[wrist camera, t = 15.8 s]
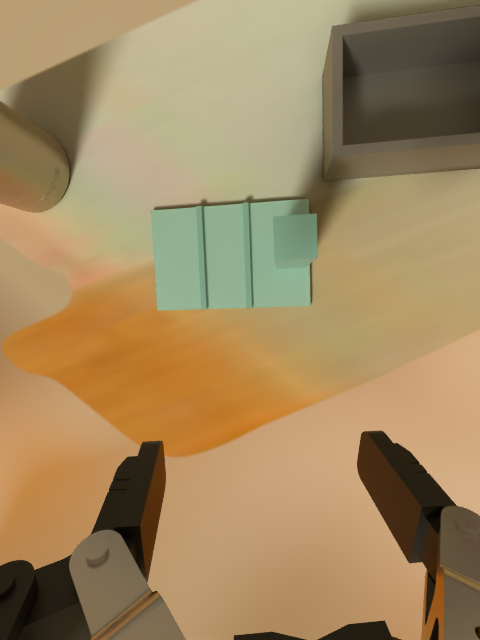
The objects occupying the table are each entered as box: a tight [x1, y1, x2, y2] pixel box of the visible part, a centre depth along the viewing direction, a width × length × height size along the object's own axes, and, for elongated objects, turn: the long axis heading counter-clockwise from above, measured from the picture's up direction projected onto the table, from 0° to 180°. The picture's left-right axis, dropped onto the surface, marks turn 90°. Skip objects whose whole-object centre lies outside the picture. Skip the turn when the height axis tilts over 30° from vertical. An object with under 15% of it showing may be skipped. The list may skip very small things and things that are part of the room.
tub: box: [322, 5, 480, 181], centre depth 27 cm, size 16×10×6 cm, turn 92°
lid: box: [151, 199, 317, 310], centre depth 28 cm, size 17×11×12 cm, turn 92°
